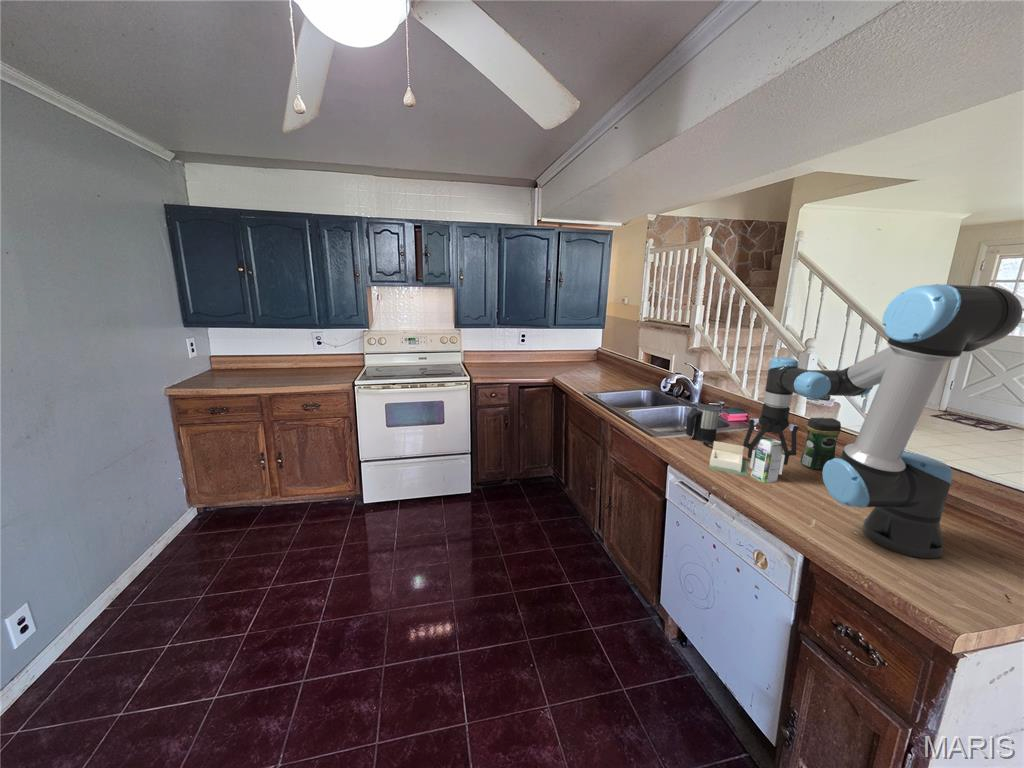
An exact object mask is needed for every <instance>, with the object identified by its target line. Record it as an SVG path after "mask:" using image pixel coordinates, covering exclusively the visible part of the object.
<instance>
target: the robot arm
mask: <svg viewBox="0 0 1024 768" xmlns="http://www.w3.org/2000/svg"><path fill="white" fill-rule="evenodd" d="M1022 317H1023V305H1022V304H1021V301H1020V300H1019V299H1018V297H1017V296H1016V295H1014V294H1013V293H1012V292H1010V291H1009V290H1007V289H1004V288H1001V287H999V286H998V287H997V286H993V285H964V284H963V285H960V284H956V285H955V284H945V283H944V284H940V283H936V284H927V285H917V286H913V287H911V288H908V289H906V290H905V291H903V292H900V293H898V295H896V296H895V297H894V298H893V299H892V300H891V301H890V303H889V304H887V306H886V308H885V310H884V312H883V316H882V325H883V326H884V327H883V331H884V333H885V334H886V336H887V337H889V338H888V341H887V343H886V344H887V345H888V346H889V347H886V348H885V349H882V350H880V351H879V352H876V353H874V354H873V355H871V356H868V357H866V358H864V359H861V361H858V362H856V363H855V364H853V365H850V366H847V367H846V368H844V369H841V370H838V369H837V370H836V369H834V370H831V369H830V370H827V369H826V370H825V369H823V370H818V369H814V370H812V369H804V368H801V367H799V361H798V359H796V358H794V357H793V358H792V357H783V356H782V357H781V356H776V357H772V358H771V359H770V363H769V365H768V366H769V367H768V368H767V377H766V383H765V384H766V385H765V389H764V394H763V395H764V396H763V404H762V408H761V413H760V417H759V418H753V417H750V418H749V426H748V429H747V431H746V435H745V437H744V440H743V444H742V446H744V448H747V450H748V451H747V459H750V462H749V469H751V470H752V468H753V462H754V456H755V448H756V444H757V443H758V442H759V440H760V439H761V437H764V435H765V434H766V433H773V434H775V435H777V434H778V437H779V441H781V444H782V447H783V452H782V456H781V462H780V467H779V473H778V475H781V476H782V473H783V469H784V468H783V467H784V466H785V465H786V466H787V465H788V464H789V457H790V456H797V432H798V430H799V426H798V424H796V423H795V424H793V423H789V417H790V410H791V408H790V406H791V405H792V399H793V393H794V394H797V395H800V396H801V397H804V398H810V399H814V400H817V399H821V398H823V397H826V396H827V397H828V396H834V397H835V396H836V397H837V396H842V397H859V396H864V395H868V394H869V393H870V392H871V390H873V388H874V387H875V386H877V385H878V387H877V389H876V391H875V394H874V397H873V399H872V401H871V403H870V406H869V408H868V411H867V413H866V415H865V417H864V420H863V421H862V422H863V423H862V425H861V427H860V429H859V432H858V435H857V437H856V439H855V442H852V443H848V444H846V445H845V446H844V447H843V450H842V452H841V455H840V457H835V458H834V459H832V460H829V461H827V462H826V463H825V465H824V467H823V470H822V473H821V474H822V475H821V476H822V481H823V484H824V485H825V489H826V491H827V492H828V494H829V495H830V497H832V499H834V500H835V501H836V502H838V503H839V504H841V505H843V506H846V507H853V508H859V509H860V508H861V509H862V508H873V509H872V510H871V512H869V514H868V515H867V517H866V518H865V519H864V521H863V523H862V529H861V530H862V532H863V534H864V535H865V536H866V537H867V538H868V539H869V540H871V541H873V542H874V543H876V544H878V545H880V546H881V547H884V548H886V549H888V550H891V551H892V552H895V553H898V552H899V554H902V553H903V554H902V555H905V554H907V555H906V556H909V555H911V556H910V557H913V556H915V557H914V558H918V557H921V558H920V559H926V558H934V559H937V557H938V558H940V557H941V556H942V555H943V554H942V553H943V551H944V539H943V535H942V531H941V525H940V524H941V523H940V521H941V518H942V516H943V512H944V509H945V505H946V502H947V499H948V498H947V497H948V494H949V491H950V488H951V486H952V484H953V482H952V479H953V475H954V471H953V469H952V468H951V466H950V465H948V464H946V463H945V462H942V461H940V460H938V459H935V458H932V457H929V456H925V455H922V454H919V453H914V452H911V451H905V449H906V447H907V445H908V442H909V441H910V439H911V437H912V434H913V432H914V430H915V428H916V426H917V424H918V422H919V420H920V417H921V415H922V413H923V411H924V409H925V407H926V405H927V403H928V401H929V399H930V397H931V394H932V392H933V390H934V388H935V386H936V384H937V383H938V380H939V377H940V375H941V373H942V371H943V369H944V368H945V365H946V363H947V362H949V361H952V360H955V359H958V358H960V357H961V355H962V353H969V352H970V353H971V352H972V351H975V350H979V349H980V348H984V347H985V346H986V347H987V346H988V345H991V344H993V343H996V342H998V341H999V340H1002V339H1003V338H1005V337H1007V336H1008V335H1009V334H1011V333H1013V332H1014V330H1015V329H1017V327H1018V326H1019V324H1020V323H1021V320H1022ZM758 423H759V425H760V426H761V428H760V430H759V431H758V432H757V434H756V435H755V436H754V438H753V439H752V441H751V442H750V439H751V436H752V434H753V430H754V429H755V426H757V424H758ZM787 428H789V431H790V446H791V447H790V449H791V450H789V449H788V445H787V441H786V438H785V436H784V432H783V431H784V430H786V429H787Z"/></svg>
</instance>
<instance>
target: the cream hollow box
mask: <svg viewBox="0 0 1024 768" xmlns="http://www.w3.org/2000/svg"><path fill="white" fill-rule="evenodd" d="M744 448H745V447H744V446H743V445H740V444H733V443H727V442H721V441H717V440H716V441H714V444H713V446H712V451H711V454H710V457H709V458H710V459H709V465H708V467H709V466H711V467H716V468H721V469H726V470H731V471H736V472H741V467H742V459H743V455H744Z"/></svg>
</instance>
